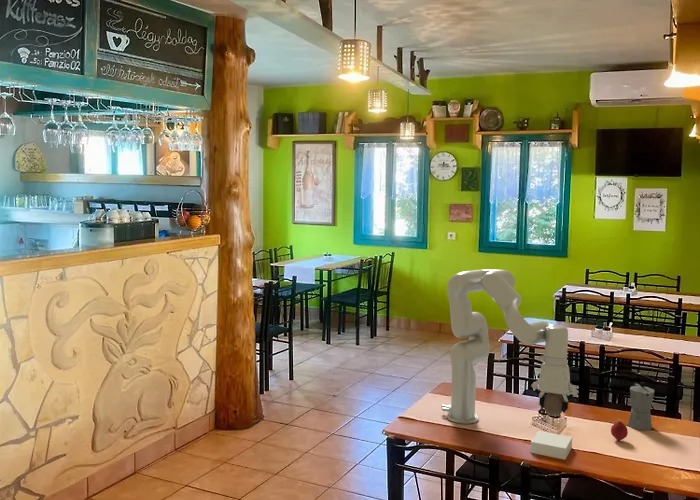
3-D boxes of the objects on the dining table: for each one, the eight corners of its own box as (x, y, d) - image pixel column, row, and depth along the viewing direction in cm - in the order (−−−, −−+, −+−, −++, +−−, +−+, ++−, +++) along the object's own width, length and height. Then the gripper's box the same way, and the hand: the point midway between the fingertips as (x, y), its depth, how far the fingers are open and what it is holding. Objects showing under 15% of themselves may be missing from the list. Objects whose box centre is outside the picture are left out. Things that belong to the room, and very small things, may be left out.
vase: (564, 418, 234) (565, 393, 233) (543, 416, 235) (545, 392, 234) (562, 411, 240) (563, 387, 239) (542, 409, 242) (543, 386, 241)
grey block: (530, 452, 237) (530, 441, 236) (538, 441, 247) (538, 430, 247) (565, 459, 231) (565, 448, 231) (571, 447, 242) (572, 437, 241)
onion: (626, 439, 251) (627, 418, 250) (627, 444, 245) (628, 423, 244) (610, 436, 253) (611, 416, 252) (610, 442, 247) (611, 421, 246)
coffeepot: (658, 433, 257) (661, 387, 255) (633, 432, 258) (636, 386, 256) (643, 418, 272) (646, 375, 270) (620, 418, 273) (622, 375, 271)
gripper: (528, 359, 236) (526, 408, 238) (579, 366, 228) (576, 417, 230) (533, 354, 243) (531, 402, 245) (583, 361, 235) (580, 410, 237)
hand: (553, 409), depth 237 cm, fingers closed on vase, 6 cm apart
